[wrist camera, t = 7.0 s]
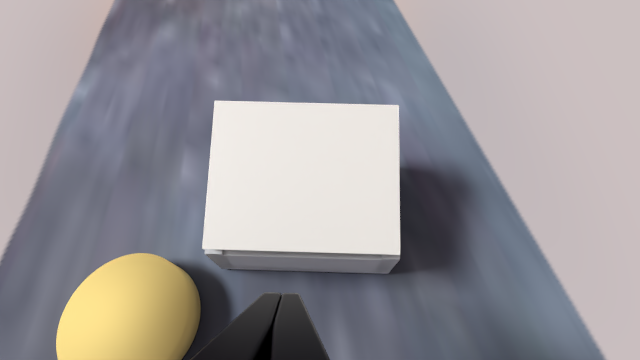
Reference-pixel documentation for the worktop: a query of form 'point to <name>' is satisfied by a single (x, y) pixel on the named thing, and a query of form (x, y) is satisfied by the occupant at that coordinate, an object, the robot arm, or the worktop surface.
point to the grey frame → (303, 261)
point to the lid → (304, 178)
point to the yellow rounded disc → (131, 312)
